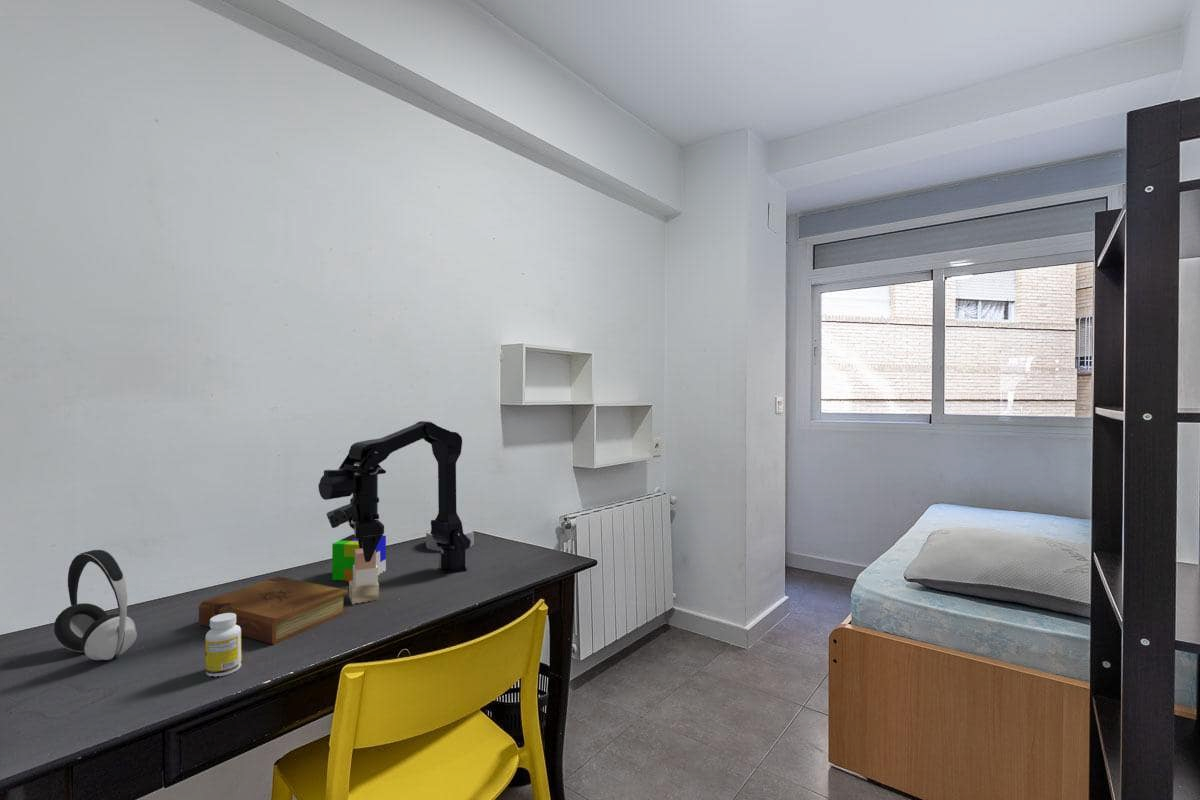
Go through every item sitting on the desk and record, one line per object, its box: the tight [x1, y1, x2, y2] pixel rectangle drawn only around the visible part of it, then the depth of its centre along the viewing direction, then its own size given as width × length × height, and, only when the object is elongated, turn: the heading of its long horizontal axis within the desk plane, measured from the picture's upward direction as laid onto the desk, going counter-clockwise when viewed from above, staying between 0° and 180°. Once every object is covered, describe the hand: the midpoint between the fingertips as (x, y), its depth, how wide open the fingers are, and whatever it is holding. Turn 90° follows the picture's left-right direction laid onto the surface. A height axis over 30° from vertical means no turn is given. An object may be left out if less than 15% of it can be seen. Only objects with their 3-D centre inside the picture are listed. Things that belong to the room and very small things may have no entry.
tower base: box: [348, 581, 380, 605], centre depth 138 cm, size 6×6×4 cm
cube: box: [355, 548, 376, 570], centre depth 138 cm, size 4×4×4 cm
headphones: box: [53, 549, 138, 661], centre depth 107 cm, size 19×8×20 cm, turn 65°
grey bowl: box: [425, 525, 475, 552], centre depth 186 cm, size 15×15×5 cm
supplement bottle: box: [204, 613, 243, 678], centre depth 102 cm, size 5×5×10 cm
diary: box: [198, 576, 349, 645], centre depth 125 cm, size 23×19×6 cm
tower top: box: [353, 565, 379, 587], centre depth 138 cm, size 5×5×4 cm
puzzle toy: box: [331, 533, 387, 582], centre depth 155 cm, size 10×10×10 cm
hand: (365, 556), depth 138 cm, fingers open, 9 cm apart
